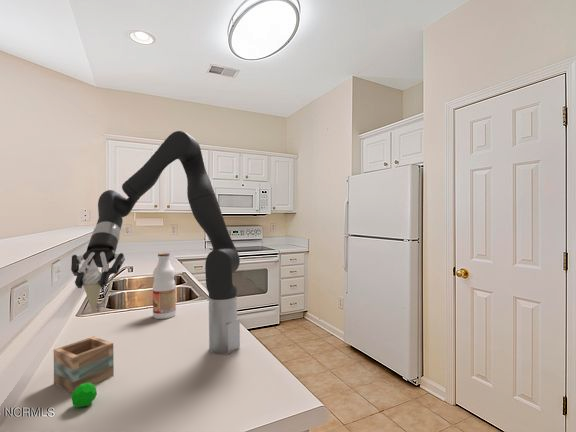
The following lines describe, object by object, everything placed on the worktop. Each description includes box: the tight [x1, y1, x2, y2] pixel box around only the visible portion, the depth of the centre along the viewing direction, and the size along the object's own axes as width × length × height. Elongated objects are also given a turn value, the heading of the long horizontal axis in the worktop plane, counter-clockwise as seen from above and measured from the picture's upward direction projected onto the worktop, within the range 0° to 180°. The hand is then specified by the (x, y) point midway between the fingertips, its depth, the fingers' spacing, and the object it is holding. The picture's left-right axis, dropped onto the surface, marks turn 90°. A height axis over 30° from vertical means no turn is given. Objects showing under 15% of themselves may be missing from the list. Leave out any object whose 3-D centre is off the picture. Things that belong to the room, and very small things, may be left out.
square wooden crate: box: [53, 336, 115, 394], centre depth 82 cm, size 10×10×9 cm
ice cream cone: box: [82, 259, 102, 312], centre depth 85 cm, size 5×5×15 cm
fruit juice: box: [152, 252, 177, 320], centre depth 135 cm, size 9×9×28 cm
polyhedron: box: [70, 383, 98, 408], centre depth 71 cm, size 5×5×5 cm
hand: (90, 285), depth 83 cm, fingers closed on ice cream cone, 5 cm apart
